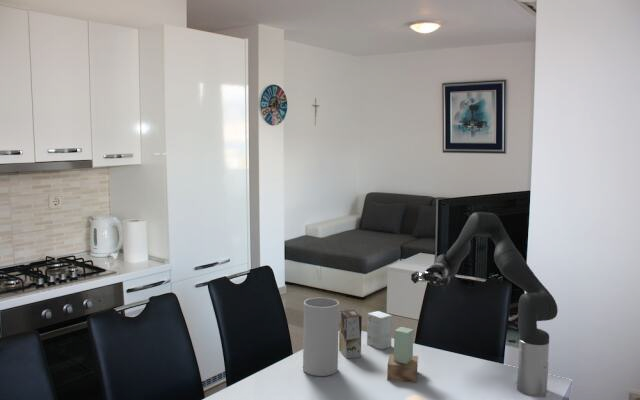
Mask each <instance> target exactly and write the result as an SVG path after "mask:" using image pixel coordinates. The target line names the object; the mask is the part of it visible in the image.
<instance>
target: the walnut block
mask: <svg viewBox="0 0 640 400" xmlns="http://www.w3.org/2000/svg"><path fill="white" fill-rule="evenodd" d="M418 359H419V356H418V355H413V359H412V360H411V361H410V362H409V363H407V364H404V363H400V362H396V361H394V353H389V357H388V360H387V361H388V362H387V372H386V373H387V374H386V375H387V377H386V378H387V379H386V380H387V381H389V380H390V381H391V382H400V383H411V384H417V381H418V379H417V378H418V361H419V360H418Z"/></svg>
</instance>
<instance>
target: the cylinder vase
mask: <svg viewBox="0 0 640 400" xmlns="http://www.w3.org/2000/svg"><path fill="white" fill-rule="evenodd" d="M339 309H340V302H339V300H337V299H334V298H331V297H330V298H329V297H313V298H312V297H311V298H307V299H305V300H304V301H303V338H302V339H303V341H302V343H303V346H302V348H303V349H302V350H303V351H302V352H303V353H302V355H303V356H302V358H303V359H302V369H303V372H305V373H306V374H308V375H311V376H313V377H328V376H331V375H333V374H335V373H337V371H338V369H339V318H340V310H339Z"/></svg>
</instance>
